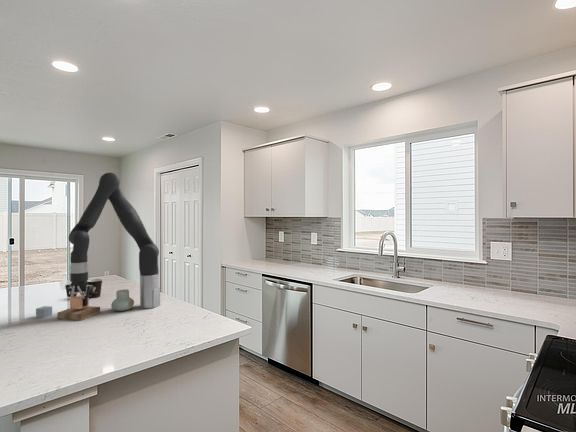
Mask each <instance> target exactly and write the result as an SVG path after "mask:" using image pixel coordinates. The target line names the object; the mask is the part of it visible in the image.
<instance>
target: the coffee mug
mask: <svg viewBox="0 0 576 432" xmlns="http://www.w3.org/2000/svg"><path fill="white" fill-rule="evenodd" d="M87 283H88V285H93V291H92V296H91V297H89V299H97V298H100V297H101V294H102V285H103V278H93V279H88V280H87Z"/></svg>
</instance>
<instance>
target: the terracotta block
mask: <svg viewBox="0 0 576 432" xmlns="http://www.w3.org/2000/svg"><path fill="white" fill-rule="evenodd" d="M89 299H90V298H88V304H87V306H90V303H89ZM87 306H85V307H87ZM70 308H71V309H81V308H84V307H83V298H82V295H80V294H79V295H78V294H77V296H75V297H72V298H70V297H69V309H70Z"/></svg>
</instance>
